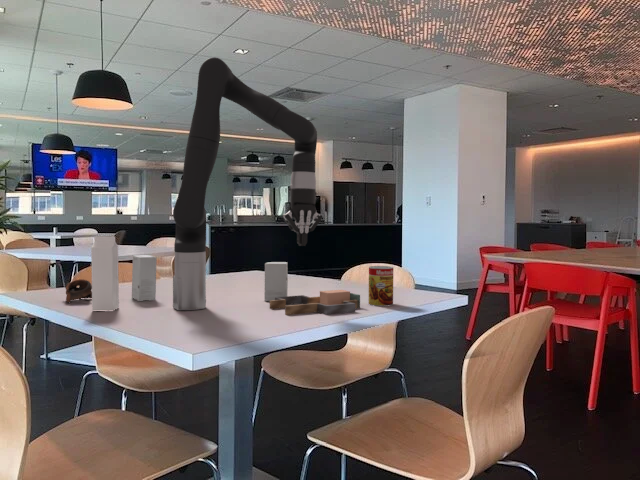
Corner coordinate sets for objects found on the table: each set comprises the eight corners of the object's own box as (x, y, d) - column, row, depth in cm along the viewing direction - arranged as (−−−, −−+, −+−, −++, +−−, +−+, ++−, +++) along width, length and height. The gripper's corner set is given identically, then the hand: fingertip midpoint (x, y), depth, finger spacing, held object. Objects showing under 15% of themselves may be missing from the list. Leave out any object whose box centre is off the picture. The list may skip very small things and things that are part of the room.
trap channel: (294, 317, 143) (294, 303, 143) (263, 306, 162) (263, 293, 162) (369, 310, 155) (369, 297, 155) (332, 300, 174) (332, 288, 174)
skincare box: (131, 298, 177) (130, 255, 176) (148, 297, 181) (148, 254, 180) (139, 301, 170) (138, 256, 170) (157, 300, 174) (157, 255, 173)
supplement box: (286, 301, 171) (286, 263, 171) (263, 301, 172) (263, 263, 171) (288, 298, 179) (288, 261, 178) (266, 298, 179) (266, 261, 178)
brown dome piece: (104, 301, 174) (99, 281, 170) (81, 317, 167) (75, 297, 162) (78, 290, 178) (72, 271, 174) (55, 305, 171) (49, 286, 167)
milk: (98, 308, 157) (97, 236, 157) (119, 308, 158) (118, 235, 157) (91, 311, 151) (90, 236, 150) (113, 311, 152) (112, 236, 151)
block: (327, 309, 157) (327, 293, 157) (319, 307, 162) (319, 291, 162) (350, 307, 161) (350, 291, 161) (341, 305, 166) (341, 289, 165)
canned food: (381, 307, 161) (382, 268, 161) (363, 303, 167) (363, 266, 167) (398, 304, 167) (398, 267, 166) (379, 301, 172) (380, 265, 172)
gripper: (288, 186, 148) (287, 246, 149) (328, 188, 155) (327, 246, 155) (277, 187, 155) (276, 245, 156) (316, 189, 161) (315, 245, 162)
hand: (302, 245), depth 155 cm, fingers closed
